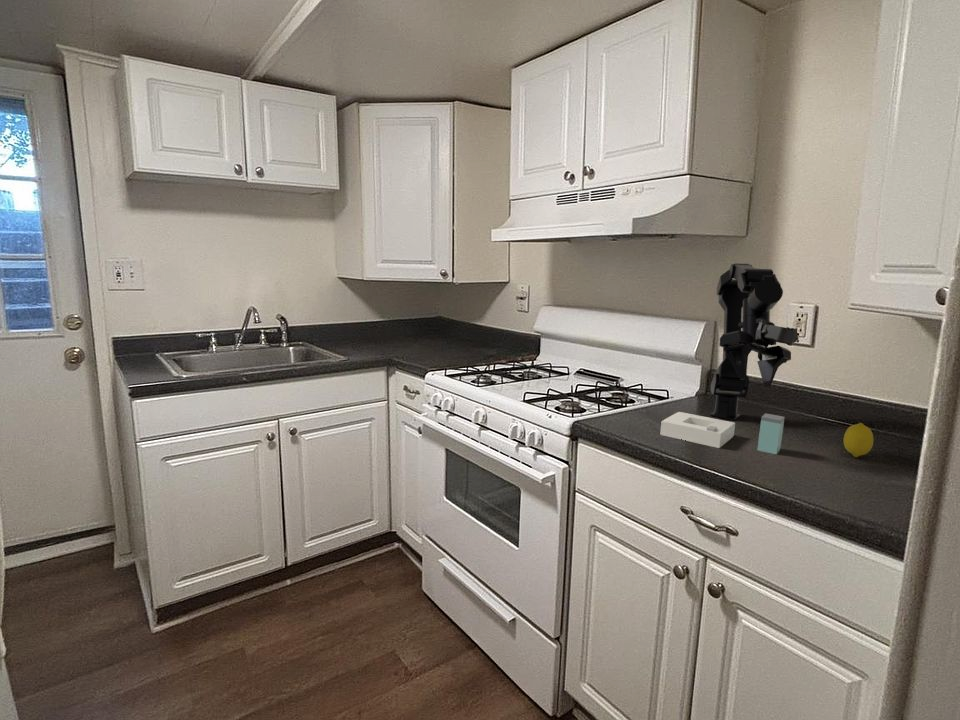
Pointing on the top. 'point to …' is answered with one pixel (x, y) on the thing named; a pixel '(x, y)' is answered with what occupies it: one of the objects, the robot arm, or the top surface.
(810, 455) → the top surface
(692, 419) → the socket plate
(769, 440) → the plug
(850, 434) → the lemon
